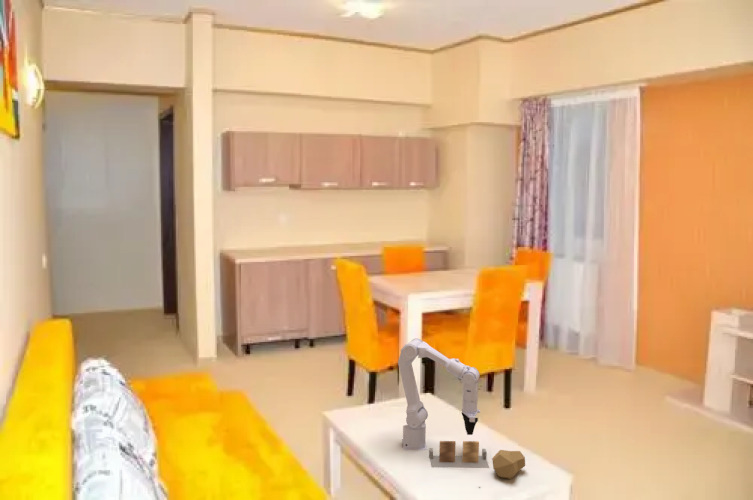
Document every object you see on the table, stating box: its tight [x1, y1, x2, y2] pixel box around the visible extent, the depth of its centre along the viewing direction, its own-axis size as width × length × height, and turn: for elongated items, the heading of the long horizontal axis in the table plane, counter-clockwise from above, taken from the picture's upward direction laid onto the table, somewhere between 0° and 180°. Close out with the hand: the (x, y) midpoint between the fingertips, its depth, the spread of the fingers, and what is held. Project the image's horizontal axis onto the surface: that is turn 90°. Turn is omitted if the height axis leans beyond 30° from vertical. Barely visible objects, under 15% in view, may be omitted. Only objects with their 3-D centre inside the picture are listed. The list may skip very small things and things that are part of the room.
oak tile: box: [462, 440, 480, 462], centre depth 251 cm, size 6×1×8 cm, turn 90°
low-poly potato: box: [492, 449, 526, 480], centre depth 240 cm, size 15×11×12 cm
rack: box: [428, 447, 490, 469], centre depth 251 cm, size 22×10×4 cm, turn 90°
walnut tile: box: [438, 440, 457, 462], centre depth 251 cm, size 6×1×8 cm, turn 90°
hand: (469, 432), depth 255 cm, fingers open, 3 cm apart
